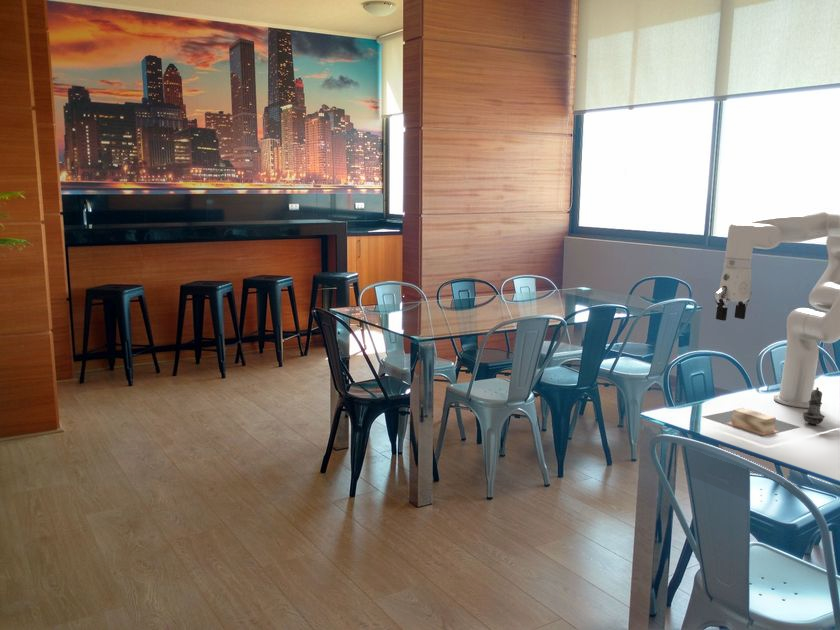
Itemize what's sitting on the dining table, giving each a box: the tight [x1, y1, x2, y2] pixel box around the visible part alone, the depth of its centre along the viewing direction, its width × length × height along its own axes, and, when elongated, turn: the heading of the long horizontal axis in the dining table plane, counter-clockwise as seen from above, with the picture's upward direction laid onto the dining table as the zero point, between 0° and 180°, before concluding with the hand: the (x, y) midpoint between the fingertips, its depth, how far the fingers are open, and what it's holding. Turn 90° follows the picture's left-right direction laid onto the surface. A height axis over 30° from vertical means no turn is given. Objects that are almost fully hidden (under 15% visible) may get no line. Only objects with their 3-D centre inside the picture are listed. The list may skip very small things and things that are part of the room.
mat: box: [702, 410, 801, 437], centre depth 213 cm, size 20×19×1 cm
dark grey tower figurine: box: [802, 386, 825, 427], centre depth 213 cm, size 6×6×12 cm
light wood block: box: [732, 407, 777, 433], centre depth 208 cm, size 10×5×4 cm, turn 33°
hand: (730, 319), depth 225 cm, fingers open, 9 cm apart
